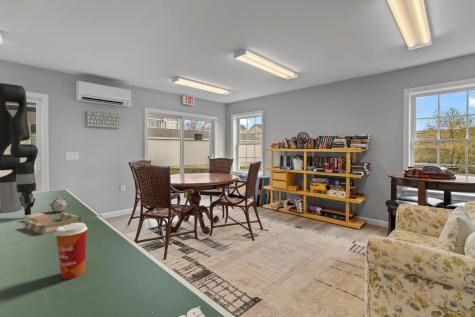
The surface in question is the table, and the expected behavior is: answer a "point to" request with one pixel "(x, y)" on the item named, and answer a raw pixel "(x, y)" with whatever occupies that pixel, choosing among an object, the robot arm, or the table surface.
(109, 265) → the table surface
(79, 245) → the paper cup
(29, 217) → the cream tile
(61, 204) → the game die
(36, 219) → the terracotta tile
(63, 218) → the box
